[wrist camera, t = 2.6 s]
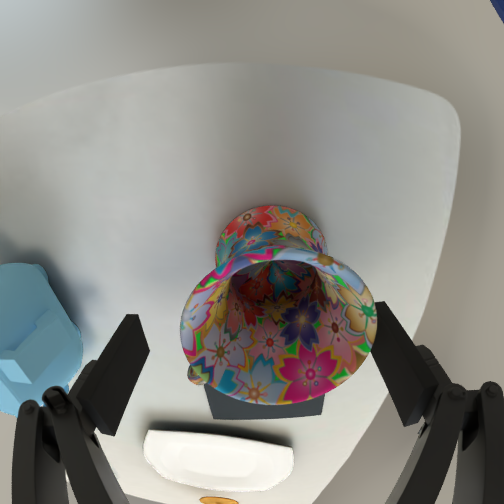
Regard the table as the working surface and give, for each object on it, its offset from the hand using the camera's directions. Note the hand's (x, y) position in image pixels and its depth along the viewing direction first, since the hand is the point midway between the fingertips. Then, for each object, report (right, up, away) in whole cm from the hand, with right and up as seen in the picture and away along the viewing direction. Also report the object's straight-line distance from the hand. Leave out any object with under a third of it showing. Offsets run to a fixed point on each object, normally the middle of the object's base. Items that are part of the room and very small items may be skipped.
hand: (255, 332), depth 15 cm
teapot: (-25, -1, +10) cm, 27 cm away
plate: (-6, -28, +20) cm, 35 cm away
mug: (0, +3, +8) cm, 8 cm away
